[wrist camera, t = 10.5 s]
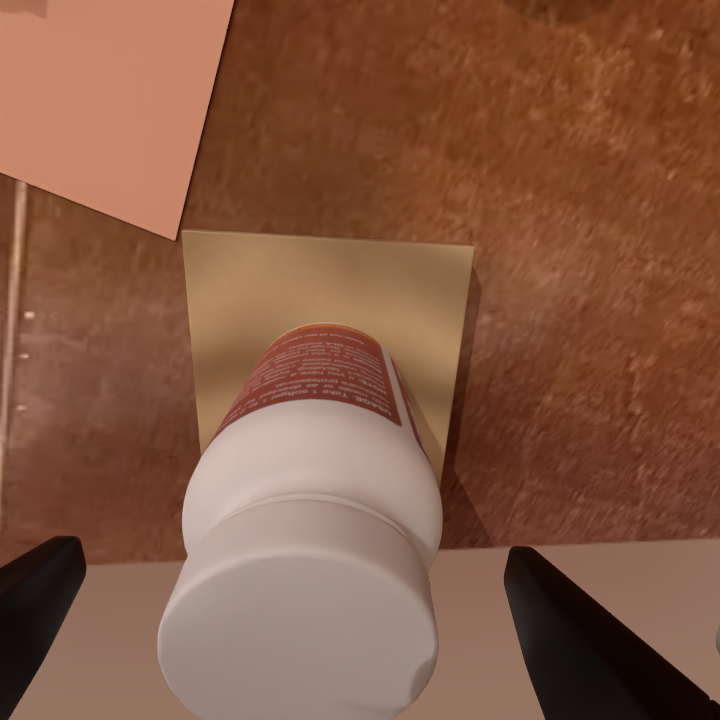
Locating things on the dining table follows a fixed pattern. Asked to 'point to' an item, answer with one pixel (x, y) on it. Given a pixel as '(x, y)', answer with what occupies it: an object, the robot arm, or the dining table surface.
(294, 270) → the cutting board
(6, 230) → the dining table surface
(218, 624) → the pill bottle
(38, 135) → the pink tile
